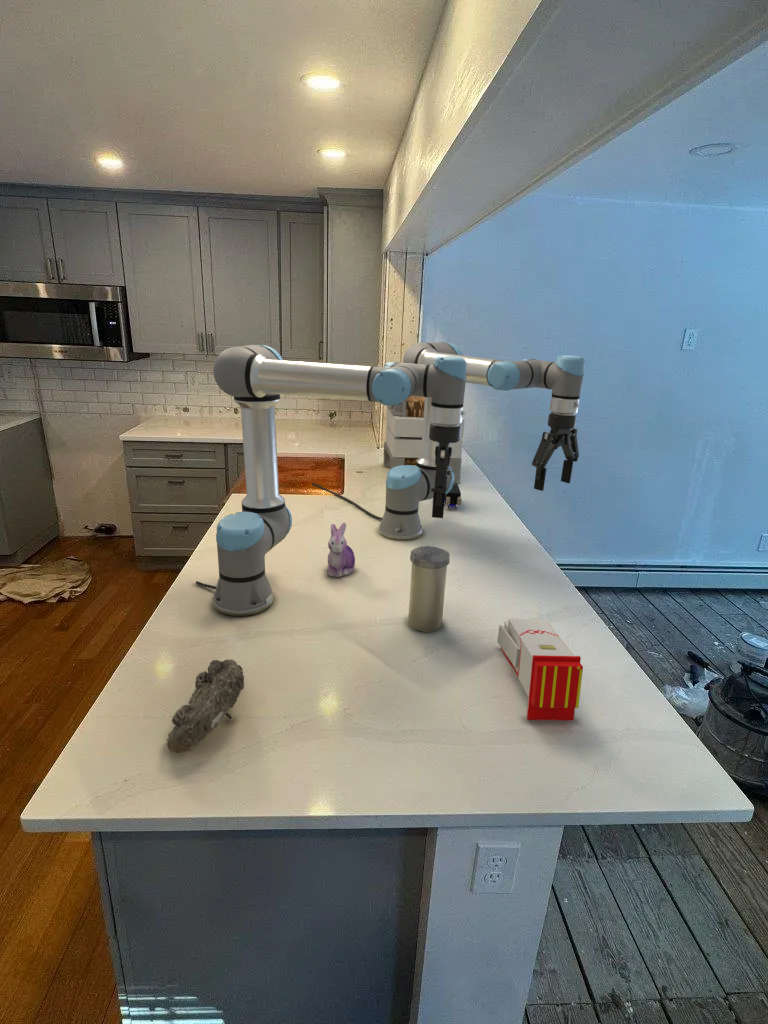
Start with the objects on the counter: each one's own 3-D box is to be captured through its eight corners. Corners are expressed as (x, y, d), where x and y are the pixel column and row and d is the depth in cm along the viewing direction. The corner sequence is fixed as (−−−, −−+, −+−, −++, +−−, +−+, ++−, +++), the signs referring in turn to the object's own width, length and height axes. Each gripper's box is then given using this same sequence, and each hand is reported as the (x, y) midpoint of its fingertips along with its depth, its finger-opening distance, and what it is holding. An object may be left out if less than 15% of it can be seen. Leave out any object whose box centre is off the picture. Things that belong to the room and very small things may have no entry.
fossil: (192, 660, 117) (244, 628, 112) (224, 691, 120) (276, 661, 115) (142, 746, 98) (202, 712, 93) (182, 779, 101) (242, 748, 96)
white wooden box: (382, 463, 289) (386, 382, 275) (445, 464, 293) (451, 384, 279) (390, 482, 257) (394, 392, 243) (460, 483, 261) (468, 394, 247)
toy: (543, 604, 136) (592, 662, 106) (538, 656, 138) (584, 727, 109) (493, 603, 135) (528, 661, 106) (489, 655, 138) (522, 726, 109)
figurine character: (461, 514, 225) (456, 498, 239) (463, 497, 222) (458, 482, 235) (444, 513, 225) (440, 498, 239) (446, 496, 222) (442, 481, 235)
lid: (428, 549, 144) (428, 543, 144) (457, 562, 138) (458, 555, 137) (401, 559, 138) (402, 552, 137) (431, 572, 132) (431, 565, 131)
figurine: (332, 580, 163) (333, 532, 158) (319, 566, 172) (319, 520, 167) (362, 575, 168) (363, 527, 162) (348, 561, 176) (349, 516, 171)
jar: (423, 611, 150) (428, 545, 143) (448, 624, 144) (455, 556, 137) (401, 621, 144) (405, 554, 138) (425, 635, 138) (431, 566, 132)
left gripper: (461, 435, 123) (452, 527, 130) (462, 416, 146) (454, 494, 153) (426, 433, 123) (420, 524, 131) (432, 414, 147) (427, 492, 154)
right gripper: (548, 419, 148) (537, 496, 155) (598, 411, 163) (586, 482, 171) (525, 414, 153) (515, 489, 160) (575, 407, 169) (564, 476, 176)
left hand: (438, 508), depth 142 cm, fingers open, 13 cm apart
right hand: (552, 485), depth 166 cm, fingers open, 13 cm apart
